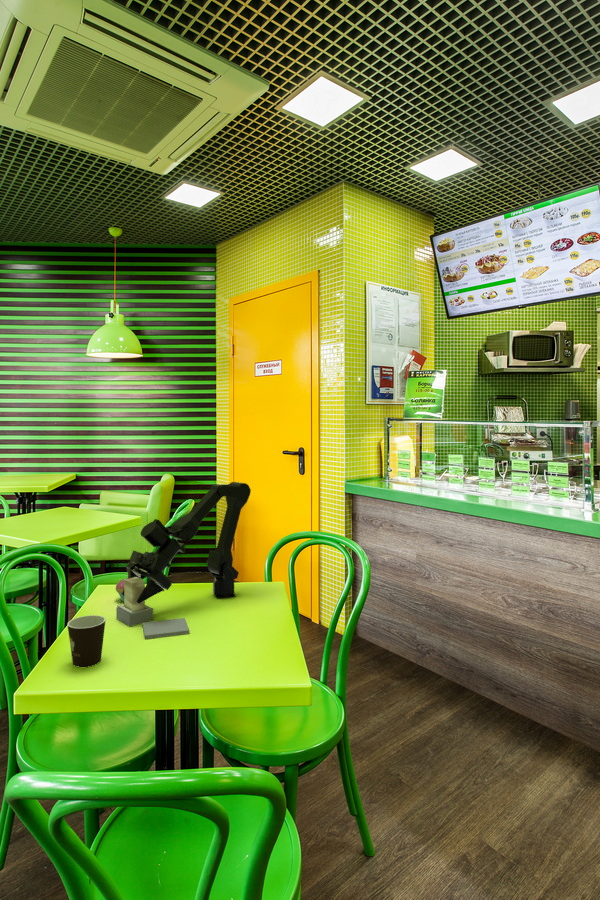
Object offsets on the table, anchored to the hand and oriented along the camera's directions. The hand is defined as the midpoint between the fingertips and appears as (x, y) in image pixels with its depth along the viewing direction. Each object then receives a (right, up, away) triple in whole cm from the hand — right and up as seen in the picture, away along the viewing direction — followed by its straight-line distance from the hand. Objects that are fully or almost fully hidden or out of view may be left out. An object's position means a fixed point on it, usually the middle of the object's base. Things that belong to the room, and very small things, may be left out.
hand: (130, 598), depth 154 cm
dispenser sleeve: (+1, -7, +1) cm, 7 cm away
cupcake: (-6, -6, +19) cm, 21 cm away
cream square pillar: (+1, -7, +1) cm, 7 cm away
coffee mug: (-2, -8, -25) cm, 27 cm away
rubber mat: (+12, -7, -6) cm, 15 cm away
